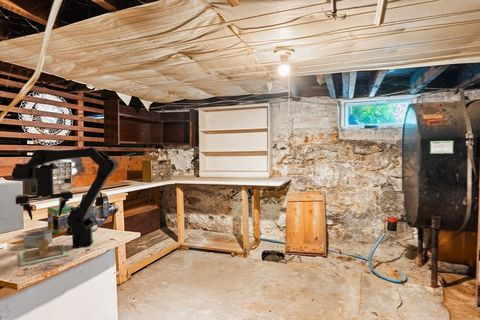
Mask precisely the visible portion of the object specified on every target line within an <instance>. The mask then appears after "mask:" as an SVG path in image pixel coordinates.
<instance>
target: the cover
mask: <svg viewBox="0 0 480 320" xmlns="http://www.w3.org/2000/svg"><path fill="white" fill-rule="evenodd" d="M59 245H60V244H57V245H56V244H55V245H51V246H49V244H48V241H47V239H46V240H40V241H39V247H38V248H35V249H31V250H30V249H29V250H24V252H25V258H26V262H30V261H35V260H39V259H44V258H49V257H53V256H58V255H63V252H62V250H61V248H60V246H59Z"/></svg>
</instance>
